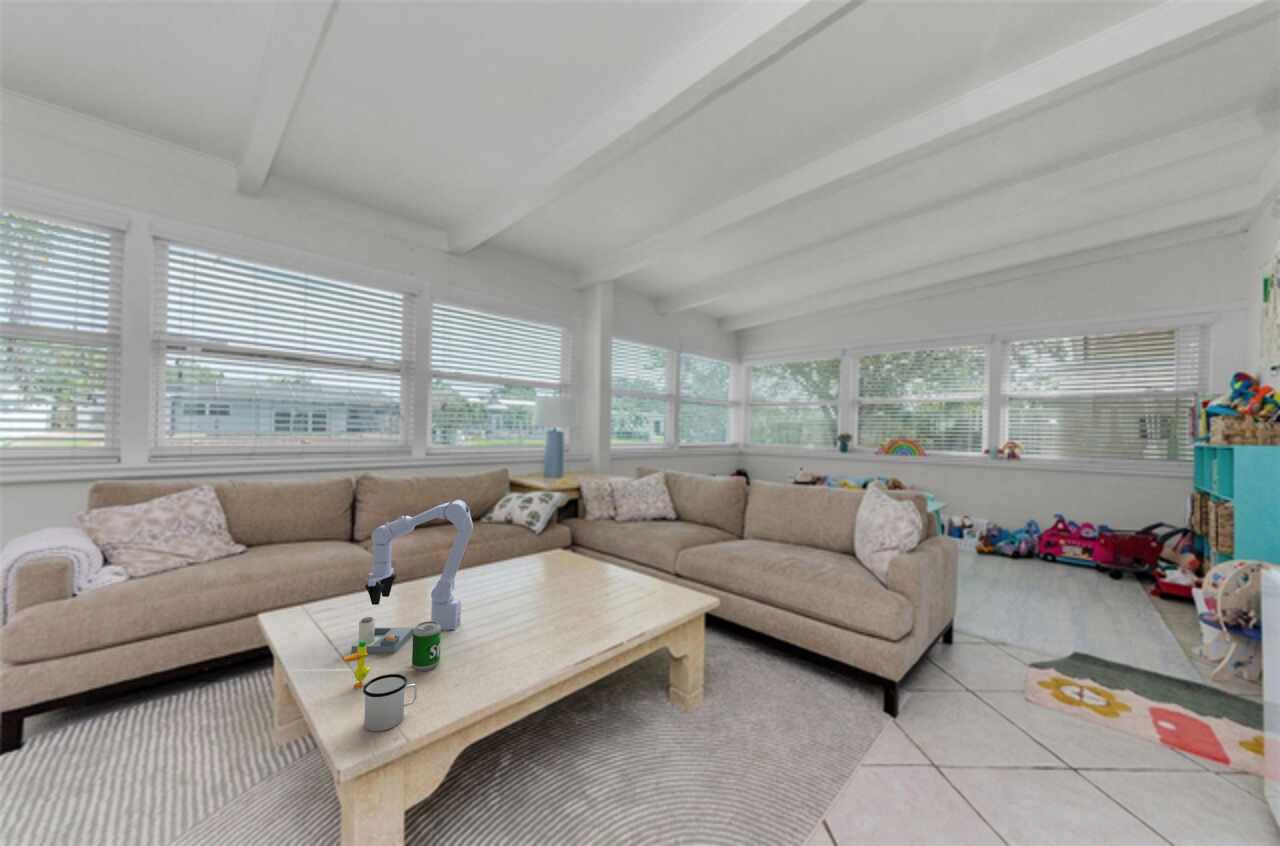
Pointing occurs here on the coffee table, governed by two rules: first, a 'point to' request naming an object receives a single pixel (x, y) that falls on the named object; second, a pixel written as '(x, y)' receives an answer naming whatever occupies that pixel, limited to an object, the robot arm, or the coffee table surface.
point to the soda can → (426, 646)
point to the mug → (385, 701)
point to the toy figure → (359, 663)
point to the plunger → (390, 638)
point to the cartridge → (367, 630)
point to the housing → (386, 646)
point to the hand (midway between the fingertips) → (380, 600)
